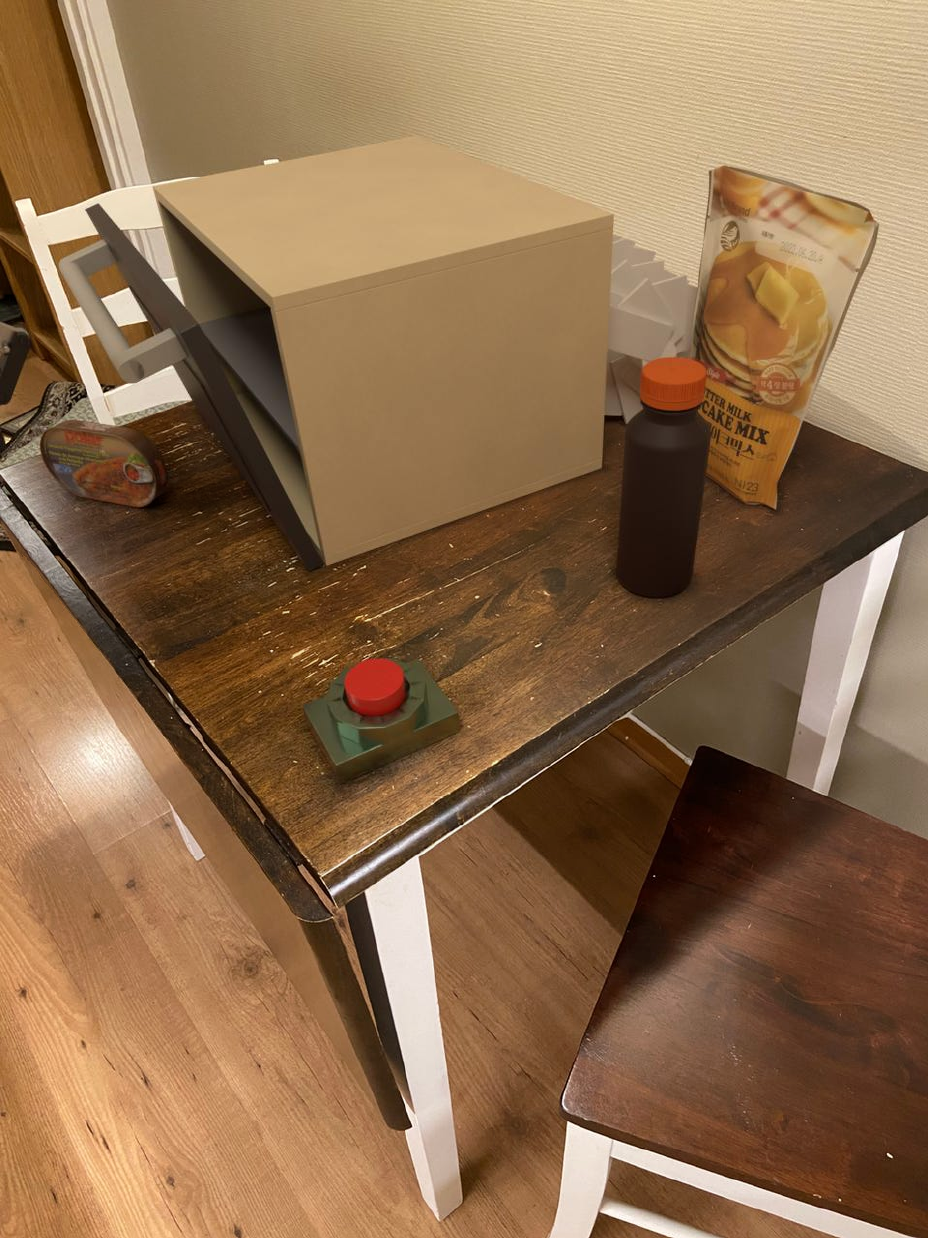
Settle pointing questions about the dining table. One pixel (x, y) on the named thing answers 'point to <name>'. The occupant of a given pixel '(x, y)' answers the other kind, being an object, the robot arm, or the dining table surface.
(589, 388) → the oven
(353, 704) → the button
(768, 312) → the pancake mix bag
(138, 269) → the oven door
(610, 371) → the spiral staircase
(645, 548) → the bottle
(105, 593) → the dining table surface
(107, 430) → the tin
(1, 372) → the robot arm
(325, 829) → the dining table surface
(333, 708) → the button base
